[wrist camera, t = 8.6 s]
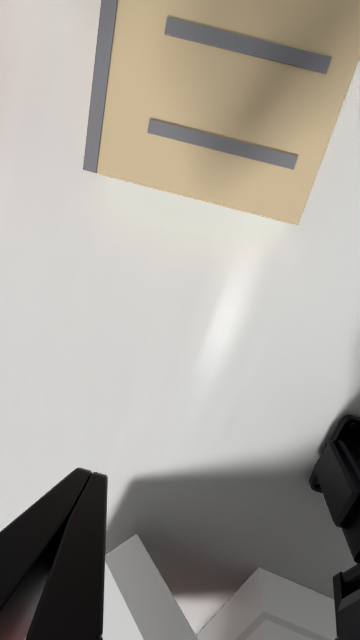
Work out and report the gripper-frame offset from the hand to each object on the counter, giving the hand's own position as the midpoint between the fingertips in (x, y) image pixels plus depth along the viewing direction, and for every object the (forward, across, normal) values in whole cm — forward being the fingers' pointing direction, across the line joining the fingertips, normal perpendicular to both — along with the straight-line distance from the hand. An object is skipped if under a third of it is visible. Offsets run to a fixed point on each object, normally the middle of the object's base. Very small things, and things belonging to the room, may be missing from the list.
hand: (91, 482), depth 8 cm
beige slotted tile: (+12, 0, -12) cm, 17 cm away
